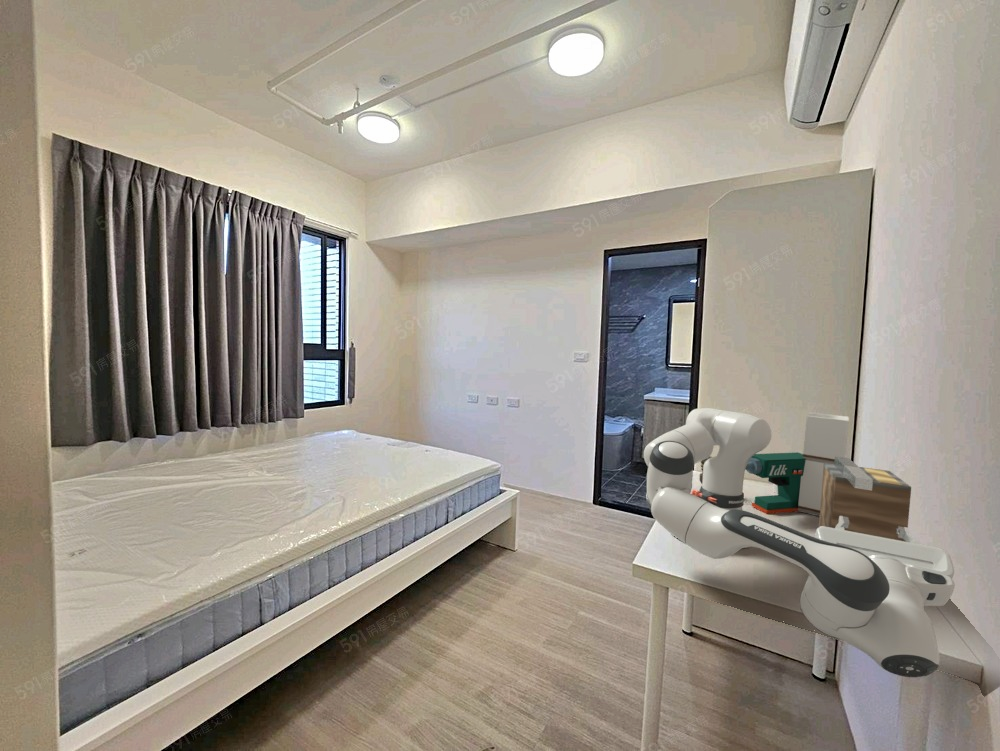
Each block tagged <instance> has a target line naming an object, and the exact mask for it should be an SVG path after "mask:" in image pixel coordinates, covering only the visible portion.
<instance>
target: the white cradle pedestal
mask: <svg viewBox="0 0 1000 751" xmlns="http://www.w3.org/2000/svg"><path fill="white" fill-rule="evenodd" d="M849 424H850V416H845V415H836V414H828V413H818V412H811V411H810V412H808V414H807V416H806V423H805V430H804V431H805V432H804V433H805V434H804V443H803V453H802V454H803V458H805V459H806V461H805V466H804V472H803V476H801V482H800V492H799V503H798V511H797V512H801V513H805V514H809V515H813V516H818V517H820V507H821V494H822V481H823V468H824V463H832V464H834V461H835V456H836V457H844V458H846V450H847V445H848V444H847V442H848V433H849V432H848V431H849Z"/></svg>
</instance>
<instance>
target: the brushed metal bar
mask: <svg viewBox="0 0 1000 751" xmlns="http://www.w3.org/2000/svg"><path fill="white" fill-rule="evenodd" d="M834 466H835V467H836V468H837V469H838V470H839V471H840V472H841V473H842V474H843V475H844V477H845V478H846V479H847V480H848V481H849V482H850V483H851V484H852V485H853V486H854V488H858V489H865V490H872V485H873V479H872V478H870V477H869V476H868V475H867V474H866V473H865V472H864V471H863V470H861V469H860V468H859V467H860V466H858V465H857V464H856V463H855V462H854V461H852V459H850V458H849V457H845V458H844V457H836V456H835V461H834Z"/></svg>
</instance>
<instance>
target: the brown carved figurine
mask: <svg viewBox="0 0 1000 751" xmlns="http://www.w3.org/2000/svg"><path fill="white" fill-rule="evenodd" d="M712 457H713V456H712V455H710V456H709V457H708V458H706V459H704V460H702V461H700V468H701V471H702V472H701V473H699V482H700V483H701V485H702V481H703V465H704V463H705V462H706V461H707V460H708V459H710V458H712Z"/></svg>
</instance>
